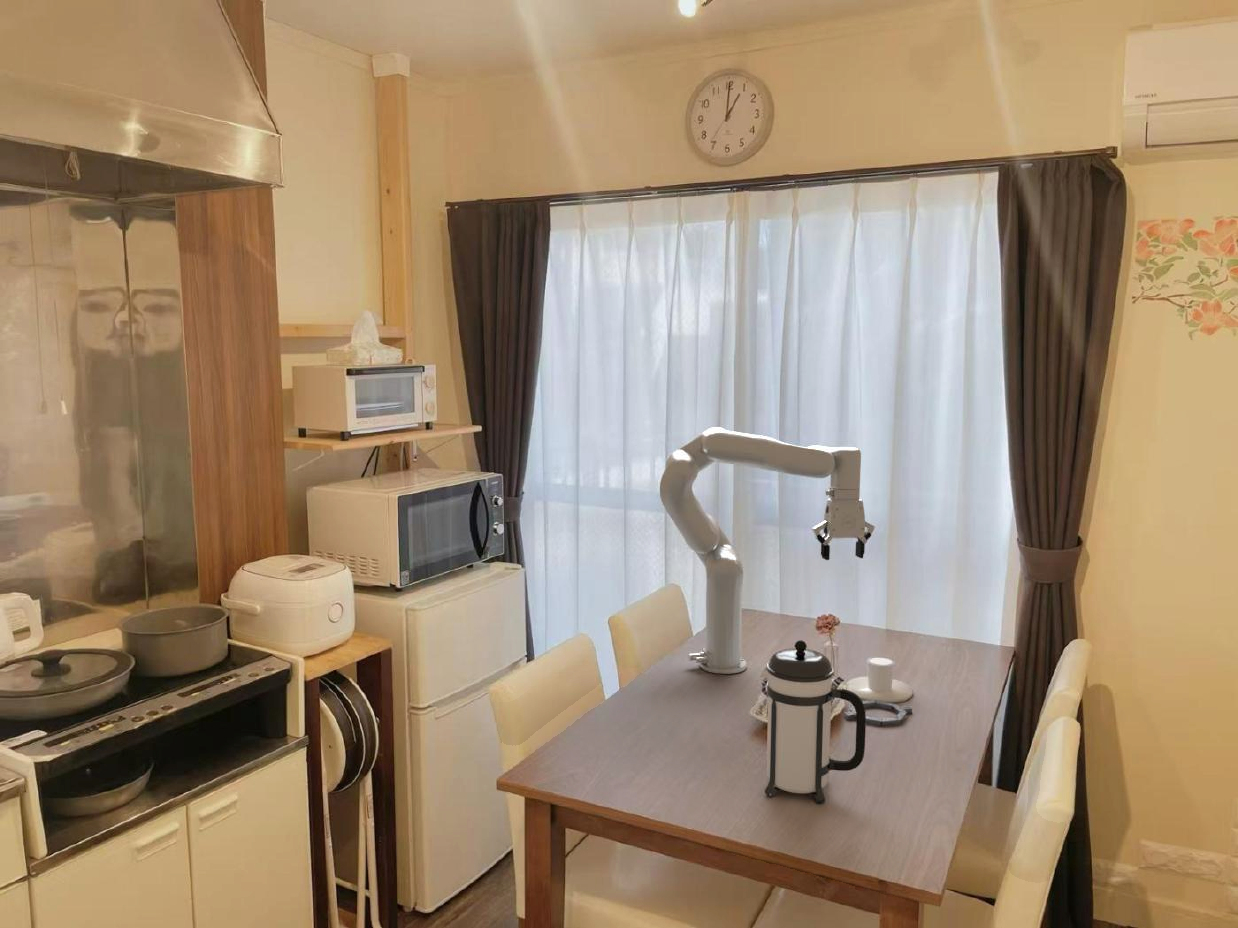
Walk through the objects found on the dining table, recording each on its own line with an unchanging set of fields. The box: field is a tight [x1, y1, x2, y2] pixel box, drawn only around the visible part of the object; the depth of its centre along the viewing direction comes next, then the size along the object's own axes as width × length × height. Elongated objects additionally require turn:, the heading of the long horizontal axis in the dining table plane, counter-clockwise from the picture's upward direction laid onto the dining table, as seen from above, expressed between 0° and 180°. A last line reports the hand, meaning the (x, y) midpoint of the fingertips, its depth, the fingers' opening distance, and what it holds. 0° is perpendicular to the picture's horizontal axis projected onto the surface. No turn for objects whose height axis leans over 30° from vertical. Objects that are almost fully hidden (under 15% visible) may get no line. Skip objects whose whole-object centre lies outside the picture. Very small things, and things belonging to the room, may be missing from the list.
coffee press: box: [759, 640, 867, 805], centre depth 182 cm, size 17×16×30 cm
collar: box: [843, 700, 913, 727], centre depth 219 cm, size 17×12×1 cm
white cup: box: [866, 656, 896, 692], centre depth 233 cm, size 7×7×7 cm
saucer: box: [846, 675, 913, 704], centre depth 234 cm, size 16×16×1 cm
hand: (842, 558), depth 247 cm, fingers open, 9 cm apart
